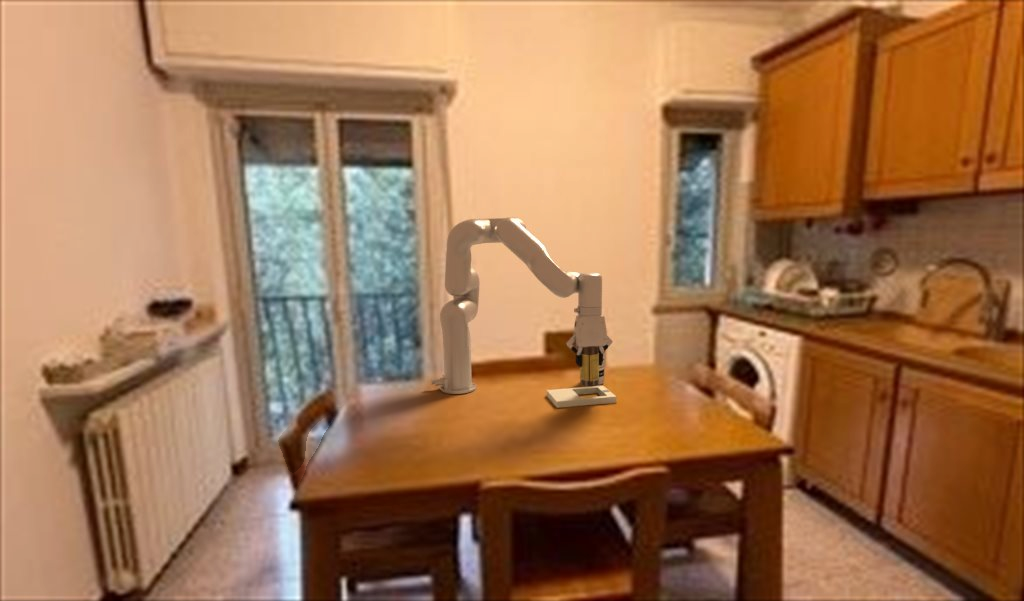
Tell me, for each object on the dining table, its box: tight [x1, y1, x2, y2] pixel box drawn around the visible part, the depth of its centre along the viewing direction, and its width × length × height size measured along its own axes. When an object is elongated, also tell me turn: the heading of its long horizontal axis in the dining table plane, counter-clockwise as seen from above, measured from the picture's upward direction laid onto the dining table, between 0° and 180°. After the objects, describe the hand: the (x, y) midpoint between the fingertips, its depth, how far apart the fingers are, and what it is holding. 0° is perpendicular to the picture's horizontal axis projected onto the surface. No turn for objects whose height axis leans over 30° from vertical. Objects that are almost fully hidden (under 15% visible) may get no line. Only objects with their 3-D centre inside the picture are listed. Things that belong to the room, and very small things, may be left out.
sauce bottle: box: [579, 346, 599, 387], centre depth 184 cm, size 6×6×20 cm
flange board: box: [546, 385, 617, 409], centre depth 186 cm, size 20×12×2 cm, turn 102°
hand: (589, 364), depth 185 cm, fingers closed on sauce bottle, 6 cm apart
